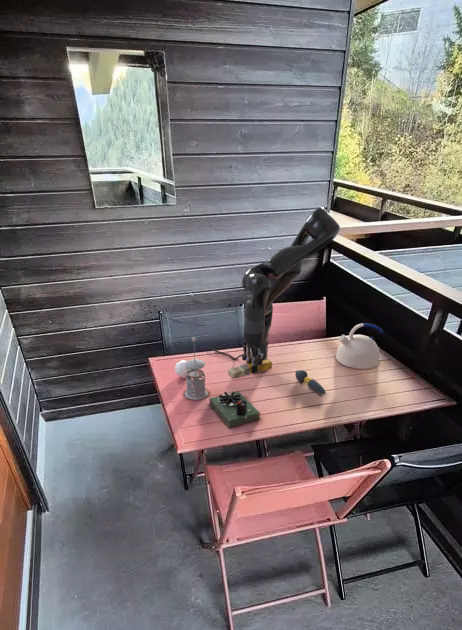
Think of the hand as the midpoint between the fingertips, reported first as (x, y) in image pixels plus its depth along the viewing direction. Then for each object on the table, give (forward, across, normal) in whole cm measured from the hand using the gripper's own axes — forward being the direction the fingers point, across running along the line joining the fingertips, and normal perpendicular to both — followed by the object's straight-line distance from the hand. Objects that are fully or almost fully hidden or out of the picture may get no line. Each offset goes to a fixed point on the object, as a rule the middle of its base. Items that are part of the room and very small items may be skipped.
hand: (252, 371), depth 170 cm
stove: (+15, +2, -9) cm, 17 cm away
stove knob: (+12, +8, -9) cm, 17 cm away
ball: (+15, -33, -16) cm, 39 cm away
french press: (+15, -18, -17) cm, 29 cm away
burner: (+12, -1, -9) cm, 15 cm away
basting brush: (0, 0, -1) cm, 1 cm away
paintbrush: (+15, -1, +30) cm, 34 cm away
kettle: (+15, -12, +65) cm, 68 cm away
